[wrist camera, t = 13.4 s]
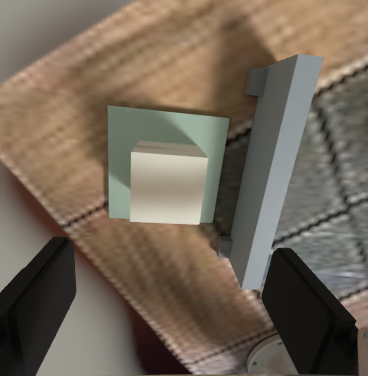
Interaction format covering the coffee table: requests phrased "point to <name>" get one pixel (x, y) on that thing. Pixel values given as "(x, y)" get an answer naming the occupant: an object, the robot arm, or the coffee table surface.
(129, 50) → the coffee table surface
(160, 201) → the beige cube
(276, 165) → the screen
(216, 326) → the coffee table surface
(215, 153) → the mat
